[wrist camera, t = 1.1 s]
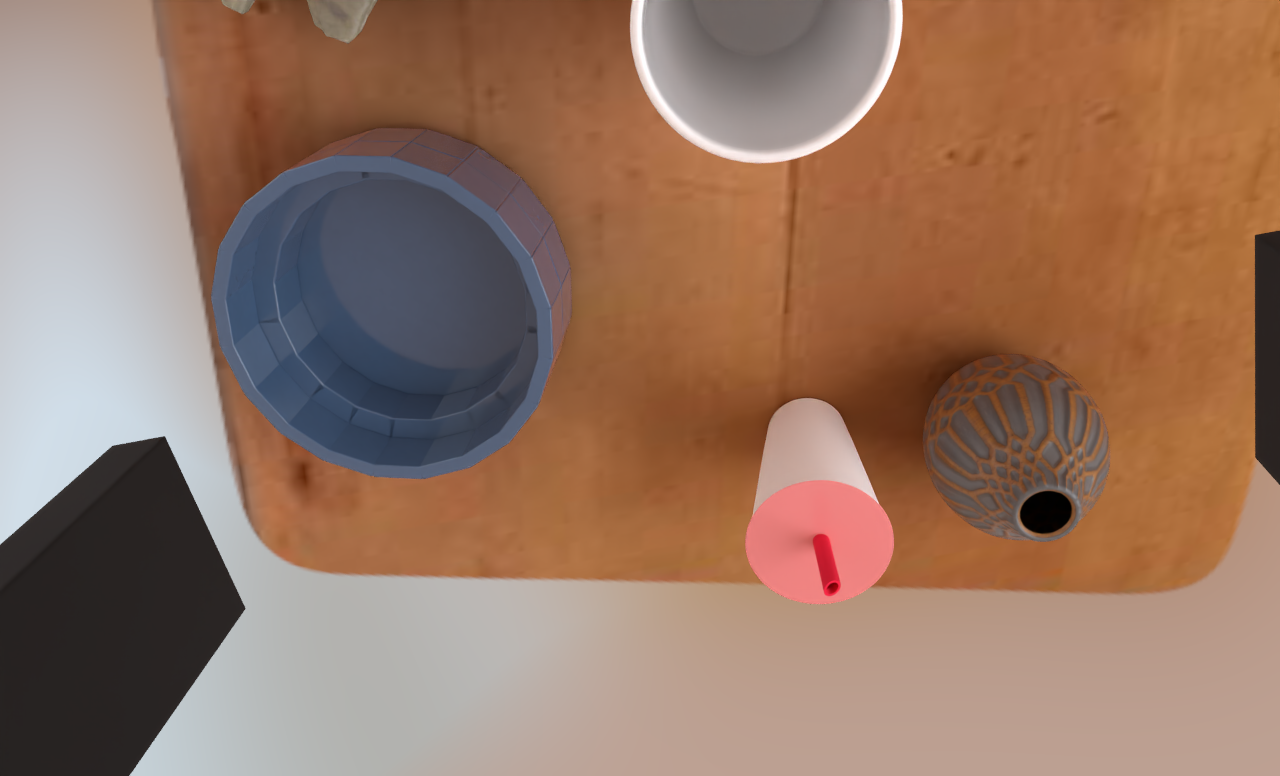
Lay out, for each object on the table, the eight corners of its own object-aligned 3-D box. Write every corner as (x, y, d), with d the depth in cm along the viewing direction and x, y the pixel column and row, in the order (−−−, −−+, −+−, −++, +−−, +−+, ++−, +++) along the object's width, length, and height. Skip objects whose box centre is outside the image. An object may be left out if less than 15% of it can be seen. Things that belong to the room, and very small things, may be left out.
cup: (881, 389, 46) (923, 543, 35) (851, 494, 48) (882, 670, 37) (758, 366, 46) (763, 514, 35) (734, 473, 48) (731, 642, 37)
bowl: (298, 79, 42) (239, 104, 37) (613, 187, 43) (595, 226, 38) (249, 364, 48) (191, 418, 43) (527, 455, 49) (502, 519, 44)
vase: (985, 503, 48) (1033, 626, 40) (878, 408, 46) (906, 515, 38) (1112, 404, 45) (1191, 513, 37) (1003, 299, 44) (1061, 389, 36)
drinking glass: (874, -97, 38) (946, -90, 24) (822, 93, 41) (860, 194, 27) (688, -139, 38) (657, -156, 24) (650, 55, 41) (602, 135, 27)
